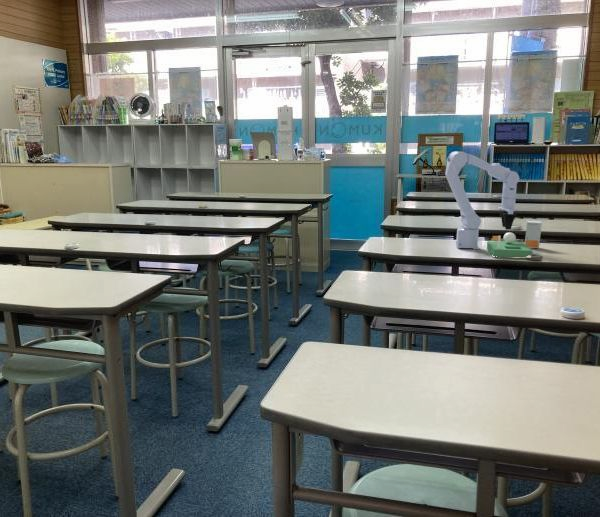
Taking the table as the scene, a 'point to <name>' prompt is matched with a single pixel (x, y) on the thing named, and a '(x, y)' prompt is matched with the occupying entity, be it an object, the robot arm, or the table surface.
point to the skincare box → (533, 234)
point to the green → (507, 248)
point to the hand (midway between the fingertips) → (506, 228)
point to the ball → (509, 237)
